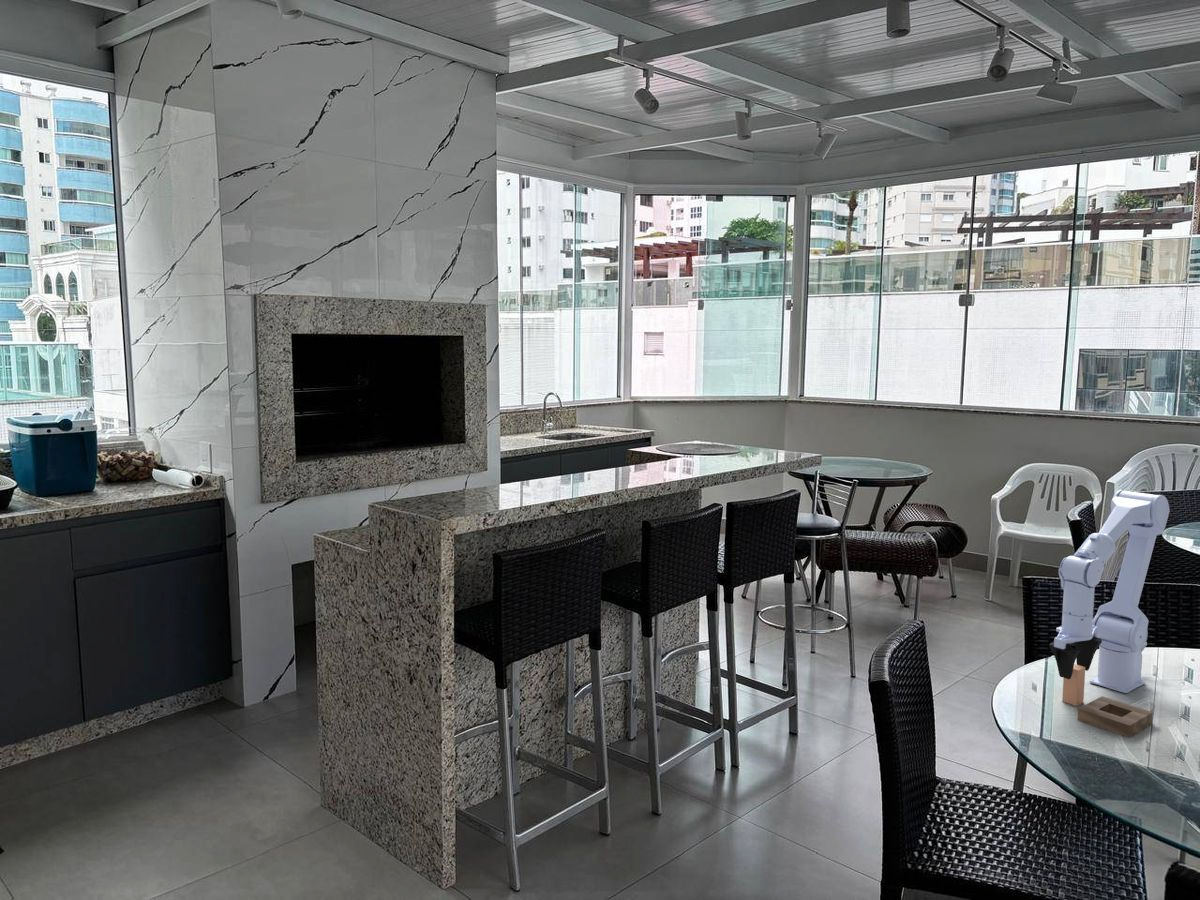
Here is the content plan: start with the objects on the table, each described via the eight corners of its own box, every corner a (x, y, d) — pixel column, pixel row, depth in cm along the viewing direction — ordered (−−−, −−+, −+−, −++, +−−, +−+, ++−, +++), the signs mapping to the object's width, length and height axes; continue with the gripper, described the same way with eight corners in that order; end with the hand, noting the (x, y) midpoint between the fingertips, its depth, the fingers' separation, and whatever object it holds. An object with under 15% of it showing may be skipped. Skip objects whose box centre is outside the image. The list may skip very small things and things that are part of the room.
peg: (1069, 698, 192) (1071, 663, 191) (1083, 702, 189) (1085, 667, 188) (1062, 701, 190) (1064, 666, 189) (1076, 706, 187) (1078, 670, 186)
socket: (1101, 707, 187) (1102, 696, 186) (1152, 723, 178) (1153, 712, 178) (1077, 719, 181) (1078, 708, 181) (1129, 737, 173) (1129, 725, 172)
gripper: (1075, 601, 194) (1072, 660, 196) (1041, 614, 186) (1038, 675, 188) (1109, 609, 188) (1105, 669, 190) (1074, 622, 180) (1071, 685, 182)
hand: (1074, 673), depth 189 cm, fingers open, 7 cm apart
